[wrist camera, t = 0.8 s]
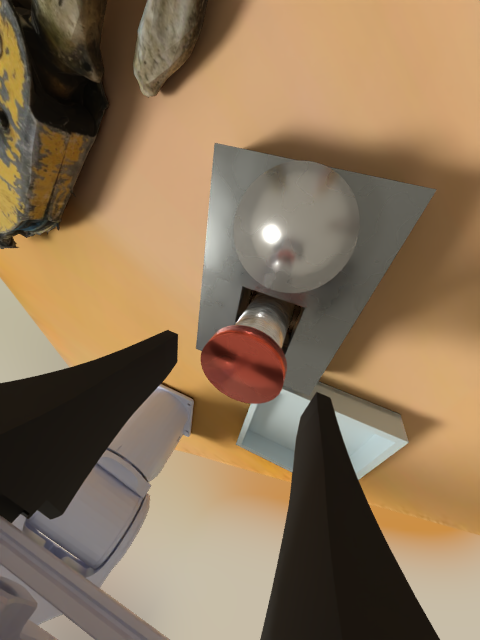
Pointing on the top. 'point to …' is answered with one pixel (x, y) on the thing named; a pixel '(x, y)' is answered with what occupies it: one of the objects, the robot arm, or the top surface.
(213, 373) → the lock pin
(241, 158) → the bracket
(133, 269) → the top surface
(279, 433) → the tray
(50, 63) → the pulley block
